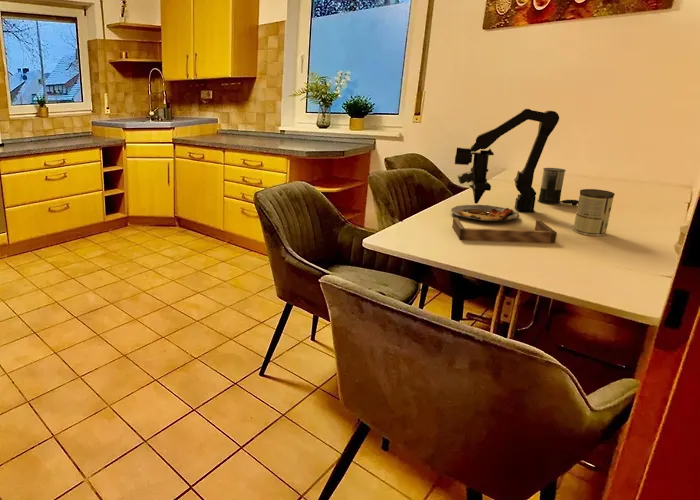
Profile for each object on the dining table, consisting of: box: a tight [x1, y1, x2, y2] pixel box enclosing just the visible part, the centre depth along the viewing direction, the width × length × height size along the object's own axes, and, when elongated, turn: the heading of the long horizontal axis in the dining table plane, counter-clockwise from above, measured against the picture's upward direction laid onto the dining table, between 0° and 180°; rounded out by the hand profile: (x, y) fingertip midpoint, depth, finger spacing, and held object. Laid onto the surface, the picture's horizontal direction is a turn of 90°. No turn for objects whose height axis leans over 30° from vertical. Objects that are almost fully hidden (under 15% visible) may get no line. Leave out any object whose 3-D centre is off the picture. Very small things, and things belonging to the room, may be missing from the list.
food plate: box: [450, 204, 520, 222], centre depth 171 cm, size 25×23×4 cm
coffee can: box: [572, 188, 615, 237], centre depth 152 cm, size 10×10×14 cm
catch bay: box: [451, 217, 558, 244], centre depth 148 cm, size 30×14×4 cm, turn 87°
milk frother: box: [537, 167, 579, 207], centre depth 193 cm, size 14×16×15 cm
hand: (475, 203), depth 186 cm, fingers closed
